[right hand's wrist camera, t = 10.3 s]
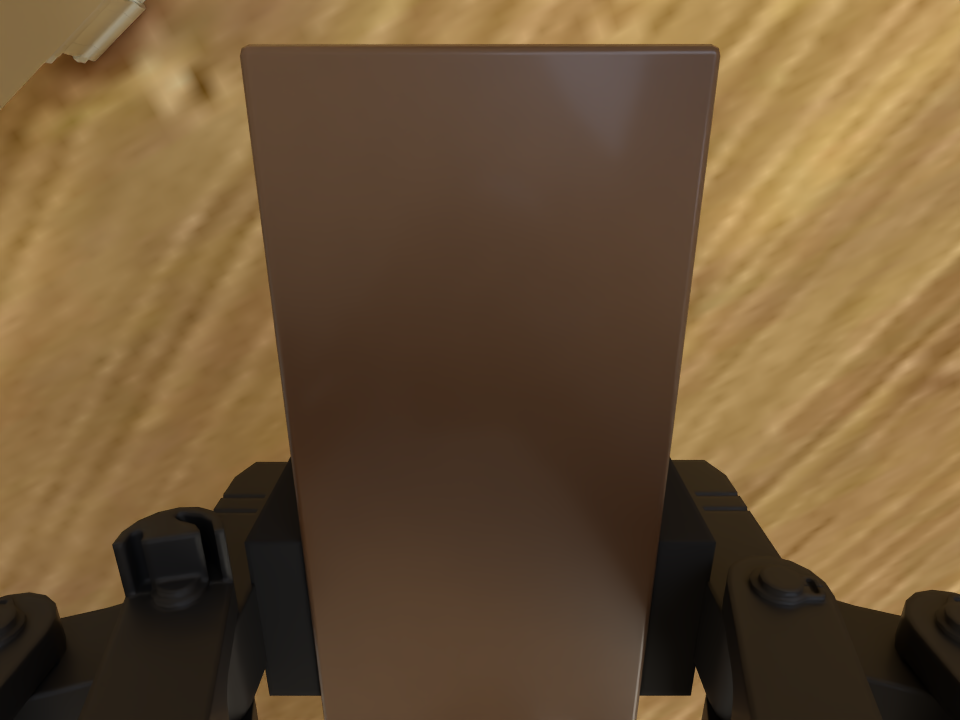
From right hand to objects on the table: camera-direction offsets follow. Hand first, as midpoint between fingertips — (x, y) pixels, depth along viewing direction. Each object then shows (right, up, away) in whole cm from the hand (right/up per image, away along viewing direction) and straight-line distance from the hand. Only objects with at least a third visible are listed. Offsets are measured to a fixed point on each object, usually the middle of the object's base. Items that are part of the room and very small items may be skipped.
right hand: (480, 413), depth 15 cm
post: (0, -18, +8) cm, 20 cm away
